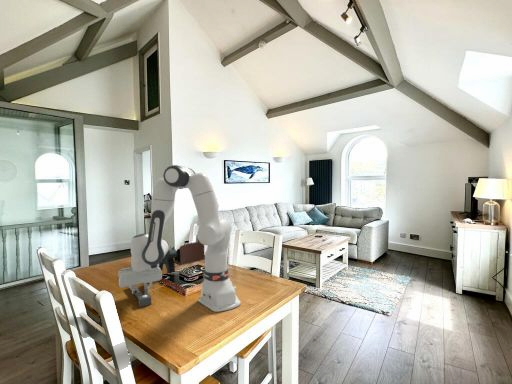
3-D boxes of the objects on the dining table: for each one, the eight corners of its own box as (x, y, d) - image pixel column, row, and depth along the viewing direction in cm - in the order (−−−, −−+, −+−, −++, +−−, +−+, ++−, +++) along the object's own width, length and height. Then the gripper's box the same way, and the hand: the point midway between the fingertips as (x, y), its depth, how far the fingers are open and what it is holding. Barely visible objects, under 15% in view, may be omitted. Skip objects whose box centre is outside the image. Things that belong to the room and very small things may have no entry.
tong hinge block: (151, 304, 124) (151, 296, 124) (139, 307, 122) (139, 299, 122) (149, 300, 128) (149, 293, 128) (138, 303, 126) (138, 295, 125)
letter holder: (204, 259, 197) (204, 240, 196) (180, 265, 183) (180, 245, 183) (197, 256, 204) (197, 238, 204) (174, 262, 191) (173, 243, 190)
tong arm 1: (142, 300, 127) (142, 294, 127) (139, 301, 126) (139, 295, 126) (131, 286, 145) (131, 281, 145) (129, 287, 144) (129, 281, 144)
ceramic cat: (177, 275, 164) (177, 243, 163) (168, 277, 159) (167, 245, 158) (162, 267, 177) (162, 238, 177) (153, 270, 173) (152, 240, 172)
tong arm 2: (148, 299, 128) (148, 293, 128) (145, 300, 128) (144, 294, 128) (146, 283, 148) (146, 278, 148) (143, 284, 148) (143, 279, 148)
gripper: (118, 270, 126) (119, 299, 127) (162, 263, 137) (162, 289, 137) (117, 267, 132) (118, 294, 132) (159, 260, 142) (160, 285, 143)
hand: (141, 291), depth 135 cm, fingers open, 6 cm apart
